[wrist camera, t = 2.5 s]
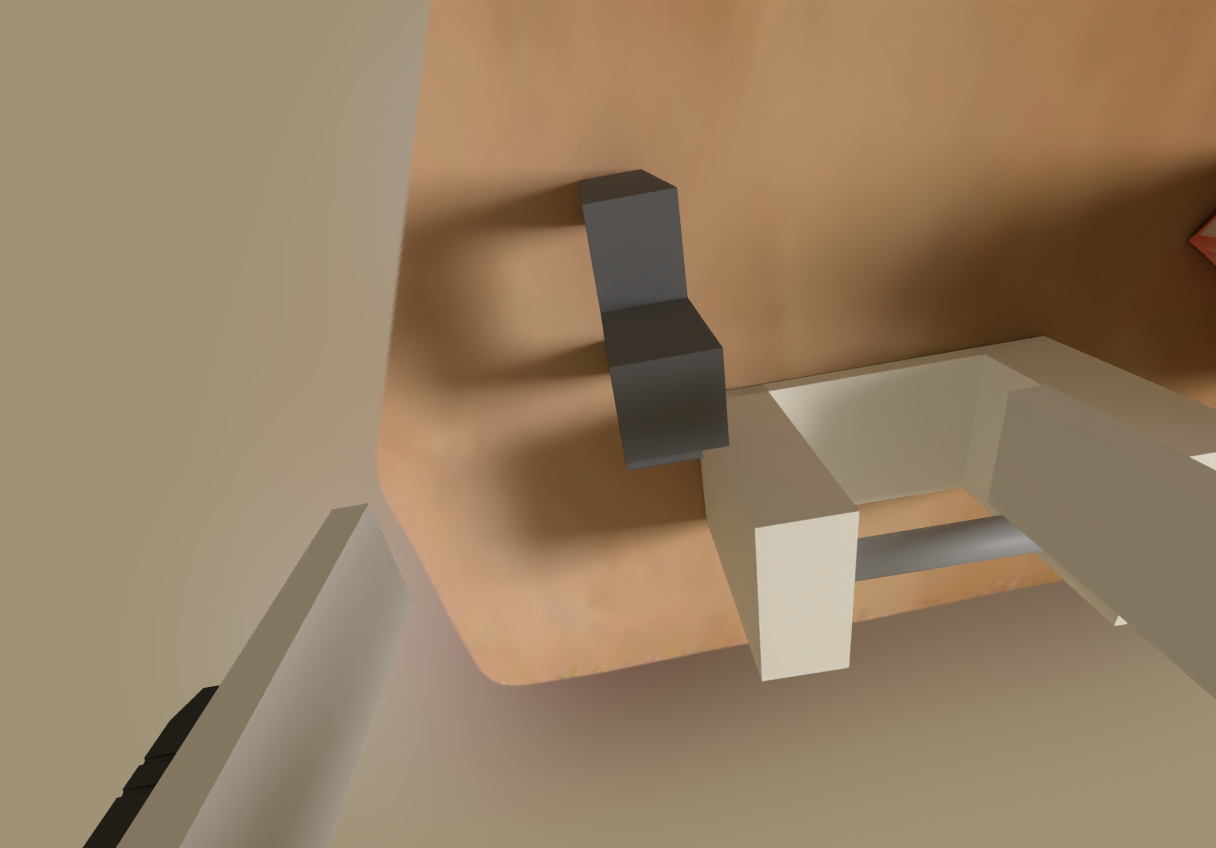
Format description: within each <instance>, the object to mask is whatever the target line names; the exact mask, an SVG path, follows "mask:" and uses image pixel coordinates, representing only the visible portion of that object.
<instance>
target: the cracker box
mask: <svg viewBox="0 0 1216 848" xmlns="http://www.w3.org/2000/svg"><path fill="white" fill-rule="evenodd" d="M1189 242H1190V243H1192V244H1193V245H1194V246H1195V247H1196V248H1197V249H1198V250H1200V251H1201V252H1202V253H1203V254H1204V255H1205V256H1206V257H1207V258H1208V259H1209V260H1210V261H1211V262H1212V263H1213V264H1214V265H1215V266H1216V214H1215V215H1214V216H1213V217H1212V218H1211V219H1210V220H1209V221H1208V222H1207V223H1206V224H1205V225H1204V226H1203V227H1202V228H1201V229H1200V230H1199V231H1198V232H1197V233H1196V234H1195V235H1194V236H1193V237H1192V238H1191V239H1190V240H1189Z"/></svg>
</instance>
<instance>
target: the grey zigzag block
mask: <svg viewBox="0 0 1216 848" xmlns="http://www.w3.org/2000/svg"><path fill="white" fill-rule="evenodd" d="M579 185H580V193H581V202H582V208H583V214H584V220H585V226H586V231H587V237H588V243H589V249H590V254H591V260H592V266H593V272H594V277H595V283H596V289H597V295H598V300H599V306H600V312H601V318H602V325H603V331H604V338H605V344H606V351H607V358H608V364H609V370H610V376H611V382H612V388H613V393H614V399H615V405H616V410H617V416H618V422H619V427H620V433H621V439H622V444H623V450H624V456H625V462H626V463H627V467H628V470H634V469H640V468H646V467H652V466H658V465H663V464H669V463H675V462H681V461H687V460H693V459H699V458H703V454H702V451H703V450H709V449H715V448H721V447H727V446H729V432H728V418H727V403H726V388H725V374H724V359H723V348H722V346H721V345H720V343H719V342H718V340H717V339H716V338H715V336H714V335H713V333H712V332H711V330H710V329H709V328H708V326H707V325H706V323H705V322H704V320H703V319H702V318H701V316H700V315H699V313H698V312H697V310H696V309H695V308H694V306H693V305H692V303H691V302H690V300H689V299H688V298H687V287H686V277H685V267H684V256H683V246H682V235H681V225H680V215H679V204H678V194H677V187H675V186H673V185H671V184H669V183H667V182H665V181H663V180H661V179H659V178H657V177H655V176H653V175H651V174H650V173H648V172H646V171H644V170H642V169H641V170H636V171H631V172H625V173H620V174H614V175H609V176H603V177H598V178H592V179H587V180H582V181H579Z"/></svg>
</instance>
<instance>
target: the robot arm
mask: <svg viewBox="0 0 1216 848" xmlns="http://www.w3.org/2000/svg"><path fill="white" fill-rule="evenodd" d="M988 503H989V504H990V505H991V506H992V507H994V508H995V509H996V510H997V511H998V512H999V513H1001V514H1002V515H1003V516H1004V517H1005V518H1006V519H1008V520H1009V521H1010V522H1011V523H1012V524H1013V525H1014V526H1016V527H1017V528H1018V529H1019V530H1020V531H1021V532H1023V533H1024V534H1025V535H1026V536H1027V537H1028V538H1030V539H1031V540H1032V541H1033V542H1034V543H1035V544H1036V545H1038V546H1039V547H1040V548H1041V549H1042V550H1043V551H1045V552H1046V553H1047V554H1048V555H1049V556H1050V557H1052V558H1053V559H1054V560H1055V561H1056V562H1057V563H1058V564H1060V565H1061V566H1062V567H1063V568H1064V569H1065V570H1067V571H1068V572H1069V573H1070V574H1071V575H1072V576H1074V577H1075V578H1076V579H1077V580H1078V581H1079V582H1080V583H1082V584H1083V585H1084V586H1085V587H1086V588H1087V589H1089V590H1090V591H1091V592H1092V593H1093V594H1094V595H1096V596H1097V597H1098V598H1099V599H1100V600H1101V601H1102V602H1104V603H1105V604H1106V605H1107V606H1108V607H1109V608H1111V609H1112V610H1113V611H1114V612H1115V613H1116V614H1118V615H1119V616H1120V617H1121V618H1122V619H1123V620H1124V621H1126V622H1127V623H1128V624H1129V625H1130V626H1131V627H1133V628H1134V629H1135V630H1136V631H1138V633H1140V634H1141V635H1142V636H1143V637H1144V638H1145V639H1146V640H1148V641H1149V642H1150V643H1151V644H1152V645H1153V646H1155V647H1156V648H1157V649H1158V650H1159V651H1160V652H1162V653H1163V654H1164V655H1165V656H1167V658H1169V659H1170V660H1171V661H1172V662H1173V663H1174V664H1175V665H1177V666H1178V667H1179V668H1180V669H1181V670H1182V671H1184V672H1185V673H1186V674H1187V675H1188V676H1189V677H1190V678H1192V679H1193V680H1194V681H1195V682H1196V683H1197V684H1199V685H1200V686H1201V687H1202V688H1203V689H1204V690H1206V691H1207V692H1208V693H1209V694H1210V695H1211V696H1212V697H1214V698H1215V699H1216V470H1214V469H1212V468H1210V467H1208V466H1206V465H1204V464H1202V463H1200V462H1198V461H1197V460H1195V459H1193V458H1191V457H1189V456H1187V455H1185V454H1183V453H1181V452H1179V451H1177V450H1175V449H1173V448H1171V447H1169V446H1167V445H1165V444H1163V443H1161V442H1159V441H1157V440H1155V439H1153V438H1151V437H1149V436H1148V435H1146V434H1144V433H1142V432H1140V431H1138V430H1136V429H1134V428H1132V427H1130V426H1128V425H1126V424H1124V423H1122V422H1120V421H1118V420H1116V419H1114V418H1112V417H1110V416H1108V415H1106V414H1104V413H1102V412H1100V411H1098V410H1097V409H1095V408H1093V407H1091V406H1089V405H1087V404H1085V403H1083V402H1081V401H1079V400H1077V399H1075V398H1073V397H1071V396H1069V395H1067V394H1065V393H1063V392H1061V391H1059V390H1057V389H1055V388H1053V387H1051V386H1049V385H1042V386H1036V387H1030V388H1025V389H1019V390H1013V391H1009V395H1008V400H1007V405H1006V410H1005V415H1004V421H1003V426H1002V431H1001V436H1000V441H999V446H998V451H997V456H996V461H995V466H994V471H993V477H992V482H991V487H990V492H989V497H988ZM412 601H413V600H412V598H411V596H410V593H409V592H408V589H407V587H406V585H405V582H404V580H403V578H402V576H401V573H400V571H399V569H398V567H397V565H396V563H395V560H394V558H393V556H392V554H391V551H390V549H389V547H388V545H387V543H386V540H385V538H384V536H383V534H382V532H381V530H380V527H379V525H378V523H377V521H376V518H375V516H374V514H373V512H372V509H371V507H370V505H369V504H368V503H367V504H362V505H356V506H350V507H344V508H338V509H333V510H332V511H331V512H330V514H329V515H328V517H327V518H326V520H325V522H324V523H323V525H322V526H321V528H320V530H319V531H318V533H317V534H316V536H315V537H314V539H313V541H312V542H311V544H310V545H309V547H308V548H307V550H306V551H305V553H304V555H303V556H302V558H301V559H300V561H299V562H298V564H297V566H296V567H295V569H294V570H293V572H292V573H291V575H290V576H289V578H288V580H287V581H286V583H285V584H284V586H283V587H282V589H281V591H280V592H279V594H278V595H277V597H276V598H275V600H274V601H273V603H272V605H271V606H270V608H269V609H268V611H267V612H266V614H265V616H264V617H263V619H262V620H261V622H260V623H259V625H258V626H257V628H256V630H255V631H254V633H253V634H252V636H251V637H250V639H249V641H248V642H247V644H246V645H245V647H244V648H243V650H242V652H241V653H240V655H239V656H238V658H237V659H236V661H235V663H234V664H233V666H232V667H231V669H230V670H229V672H228V673H227V675H226V677H225V678H224V680H223V681H222V683H221V684H220V685H219V686H213V687H207V688H203V689H202V690H201V691H200V692H199V693H198V694H197V695H196V696H195V697H194V698H193V699H192V700H191V701H190V702H189V703H188V704H187V705H186V706H185V707H184V708H183V709H182V710H181V711H179V712H178V713H177V714H176V715H175V716H174V717H173V718H172V719H171V720H170V721H169V723H168V724H167V726H166V727H165V729H164V730H163V731H162V733H161V734H160V736H159V737H158V739H157V740H156V742H155V743H154V745H153V746H152V747H151V749H150V750H149V752H148V753H147V755H146V756H145V758H144V759H145V762H144V764H143V765H140V766H138V768H137V769H136V771H135V772H134V774H133V775H132V777H131V778H130V780H129V781H128V783H127V784H126V785H125V787H124V788H123V795H122V796H121V797H119V798H116V800H115V801H114V803H113V804H112V806H111V807H110V809H109V810H108V812H107V813H106V815H105V816H104V817H103V819H102V820H101V822H100V823H99V825H98V826H97V828H96V829H95V830H94V832H93V833H92V835H91V836H90V838H89V839H88V841H87V842H86V844H85V845H84V847H83V848H329V847H330V844H331V841H332V838H333V835H334V832H335V829H336V826H337V824H338V821H339V818H340V815H341V812H342V809H343V806H344V803H345V800H346V797H347V794H348V791H349V788H350V785H351V782H352V779H353V776H354V773H355V770H356V767H357V764H358V761H359V758H360V755H361V752H362V749H363V747H364V744H365V740H366V737H367V735H368V732H369V729H370V725H371V723H372V720H373V717H374V714H375V711H376V708H377V705H378V702H379V699H380V696H381V693H382V690H383V687H384V684H385V681H386V678H387V675H388V672H389V670H390V667H391V664H392V661H393V658H394V655H395V652H396V648H397V646H398V643H399V640H400V637H401V634H402V631H403V628H404V625H405V622H406V619H407V616H408V613H409V610H410V607H411V604H412Z"/></svg>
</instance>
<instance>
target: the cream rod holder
mask: <svg viewBox="0 0 1216 848" xmlns="http://www.w3.org/2000/svg"><path fill="white" fill-rule="evenodd" d="M1042 385H1049V386H1051V387H1053V388H1055V389H1057V390H1059V391H1061V392H1063V393H1065V394H1067V395H1069V396H1071V397H1073V398H1075V399H1077V400H1079V401H1081V402H1083V403H1085V404H1087V405H1089V406H1091V407H1093V408H1095V409H1097V410H1098V411H1100V412H1102V413H1104V414H1106V415H1108V416H1110V417H1112V418H1114V419H1116V420H1118V421H1120V422H1122V423H1124V424H1126V425H1128V426H1130V427H1132V428H1134V429H1136V430H1138V431H1140V432H1142V433H1144V434H1146V435H1148V436H1149V437H1151V438H1153V439H1155V440H1157V441H1159V442H1161V443H1163V444H1165V445H1167V446H1169V447H1171V448H1173V449H1175V450H1177V451H1179V452H1181V453H1183V454H1185V455H1187V456H1189V457H1191V458H1193V459H1195V460H1197V461H1198V462H1200V463H1202V464H1204V465H1206V466H1208V467H1210V468H1212V469H1214V470H1216V409H1214V408H1212V407H1209V406H1207V405H1204V404H1202V403H1200V402H1197V401H1195V400H1193V399H1190V398H1188V397H1186V396H1183V395H1181V394H1179V393H1176V392H1174V391H1172V390H1169V389H1167V388H1165V387H1162V386H1160V385H1158V384H1155V383H1153V382H1151V381H1148V380H1146V379H1144V378H1141V377H1139V376H1137V375H1134V374H1132V373H1130V372H1127V371H1125V370H1123V369H1120V368H1118V367H1116V366H1113V365H1111V364H1109V363H1106V362H1104V361H1102V360H1099V359H1097V358H1095V357H1092V356H1090V355H1088V354H1085V353H1083V352H1081V351H1078V350H1076V349H1074V348H1071V347H1069V346H1067V345H1064V344H1062V343H1060V342H1057V341H1055V340H1053V339H1050V338H1048V337H1046V336H1041V337H1035V338H1029V339H1023V340H1017V341H1011V342H1006V343H1000V344H994V345H988V346H982V347H977V348H971V349H965V350H959V351H953V352H948V353H942V354H936V355H930V356H924V357H918V358H913V359H907V360H901V361H895V362H889V363H884V364H878V365H872V366H866V367H860V368H854V369H849V370H843V371H837V372H831V373H825V374H820V375H814V376H808V377H802V378H796V379H790V380H785V381H779V382H773V383H767V384H761V385H756V386H750V387H744V388H738V389H732V390H727V391H726V403H727V418H728V432H729V446H727V447H721V448H715V449H709V450H703V451H702V454H703V458H700V462H701V472H702V482H703V492H704V502H705V512H706V520H707V523H708V526H709V529H710V532H711V535H712V538H713V540H714V543H715V546H716V549H717V552H718V555H719V558H720V561H721V564H722V567H723V569H724V572H725V575H726V578H727V581H728V584H729V587H730V590H731V593H732V596H733V598H734V601H735V604H736V607H737V610H738V613H739V616H740V619H741V622H742V625H743V627H744V630H745V633H746V636H747V639H748V642H749V645H750V648H751V651H752V654H753V656H754V659H755V662H756V665H757V668H758V671H759V674H760V677H761V680H762V681H766V680H773V679H779V678H785V677H792V676H798V675H804V674H811V673H817V672H824V671H830V670H836V669H842V668H849V659H850V658H849V657H850V644H851V629H852V614H853V599H854V584H855V581H861V580H867V579H873V578H880V577H886V576H892V575H898V574H904V573H911V572H917V571H923V570H929V569H935V568H942V567H948V566H954V565H960V564H966V563H973V562H979V561H985V560H991V559H997V558H1004V557H1010V556H1016V555H1022V554H1028V553H1035V554H1036V555H1037V556H1038V557H1039V558H1040V559H1041V560H1042V561H1043V562H1045V563H1046V564H1047V565H1048V566H1049V567H1050V568H1051V569H1052V570H1053V571H1054V572H1056V573H1057V574H1058V575H1059V576H1060V577H1061V578H1062V579H1063V580H1064V581H1066V582H1067V583H1068V584H1069V585H1070V586H1071V587H1072V588H1073V589H1074V590H1075V591H1077V592H1078V593H1079V594H1080V595H1081V596H1082V597H1083V598H1084V599H1085V600H1087V601H1088V602H1089V603H1090V604H1091V605H1092V606H1093V607H1094V608H1095V609H1097V611H1099V612H1100V613H1101V614H1102V615H1103V616H1104V617H1105V618H1106V619H1107V620H1108V621H1110V622H1111V623H1112V624H1113V625H1114V626H1116V625H1123V624H1128V623H1127V622H1126V621H1124V620H1123V619H1122V618H1121V617H1120V616H1119V615H1118V614H1116V613H1115V612H1114V611H1113V610H1112V609H1111V608H1109V607H1108V606H1107V605H1106V604H1105V603H1104V602H1102V601H1101V600H1100V599H1099V598H1098V597H1097V596H1096V595H1094V594H1093V593H1092V592H1091V591H1090V590H1089V589H1087V588H1086V587H1085V586H1084V585H1083V584H1082V583H1080V582H1079V581H1078V580H1077V579H1076V578H1075V577H1074V576H1072V575H1071V574H1070V573H1069V572H1068V571H1067V570H1065V569H1064V568H1063V567H1062V566H1061V565H1060V564H1058V563H1057V562H1056V561H1055V560H1054V559H1053V558H1052V557H1050V556H1049V555H1048V554H1047V553H1046V552H1045V551H1043V550H1042V549H1041V548H1040V547H1039V546H1038V545H1036V544H1035V543H1034V542H1033V541H1032V540H1031V539H1030V538H1028V537H1027V536H1026V535H1025V534H1024V533H1023V532H1021V531H1020V530H1019V529H1018V528H1017V527H1016V526H1014V525H1013V524H1012V523H1011V522H1010V521H1009V520H1008V519H1006V518H1005V517H1004V516H1003V515H1002V514H1001V513H999V512H998V511H997V510H996V509H995V508H994V507H992V506H991V505H990V504H989V503H988V497H989V492H990V487H991V482H992V477H993V471H994V466H995V461H996V456H997V451H998V446H999V441H1000V436H1001V431H1002V426H1003V421H1004V415H1005V410H1006V405H1007V400H1008V395H1009V391H1013V390H1019V389H1025V388H1030V387H1036V386H1042ZM961 487H962V488H963V489H964V490H965V491H966V492H968V493H969V494H970V495H971V496H972V497H973V498H974V499H975V500H976V501H977V502H979V503H980V504H981V505H982V506H983V507H984V508H985V509H986V510H987V511H988V512H990V513H991V514H992V515H993V517H986V518H980V519H974V520H968V521H962V522H956V523H950V524H944V525H938V526H931V527H925V528H919V529H913V530H907V531H901V532H895V533H889V534H882V535H876V536H870V537H864V538H858V524H859V510H858V509H857V507H856V506H855V505H858V504H864V503H870V502H876V501H882V500H888V499H894V498H900V497H906V496H912V495H918V494H924V493H931V492H937V491H943V490H949V489H955V488H961Z"/></svg>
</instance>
